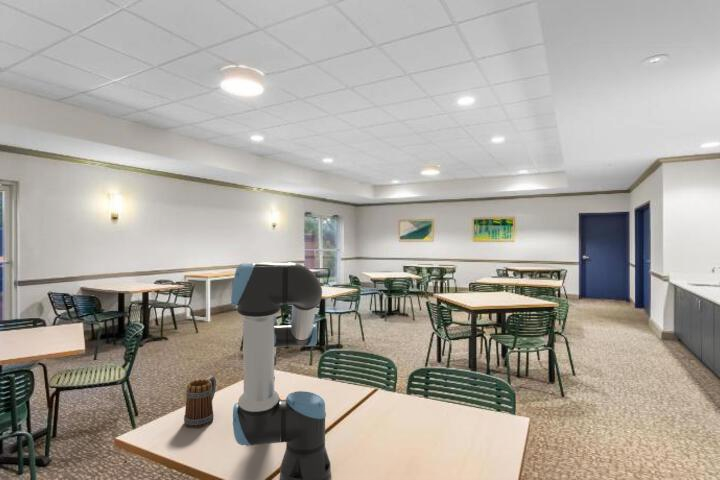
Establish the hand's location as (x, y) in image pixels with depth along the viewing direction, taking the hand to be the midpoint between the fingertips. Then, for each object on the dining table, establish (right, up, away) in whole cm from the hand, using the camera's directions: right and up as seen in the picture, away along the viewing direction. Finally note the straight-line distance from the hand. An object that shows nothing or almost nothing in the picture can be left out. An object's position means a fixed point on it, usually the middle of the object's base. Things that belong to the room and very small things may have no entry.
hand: (265, 416), depth 152 cm
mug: (-25, -3, +4) cm, 26 cm away
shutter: (+9, 0, +6) cm, 11 cm away
